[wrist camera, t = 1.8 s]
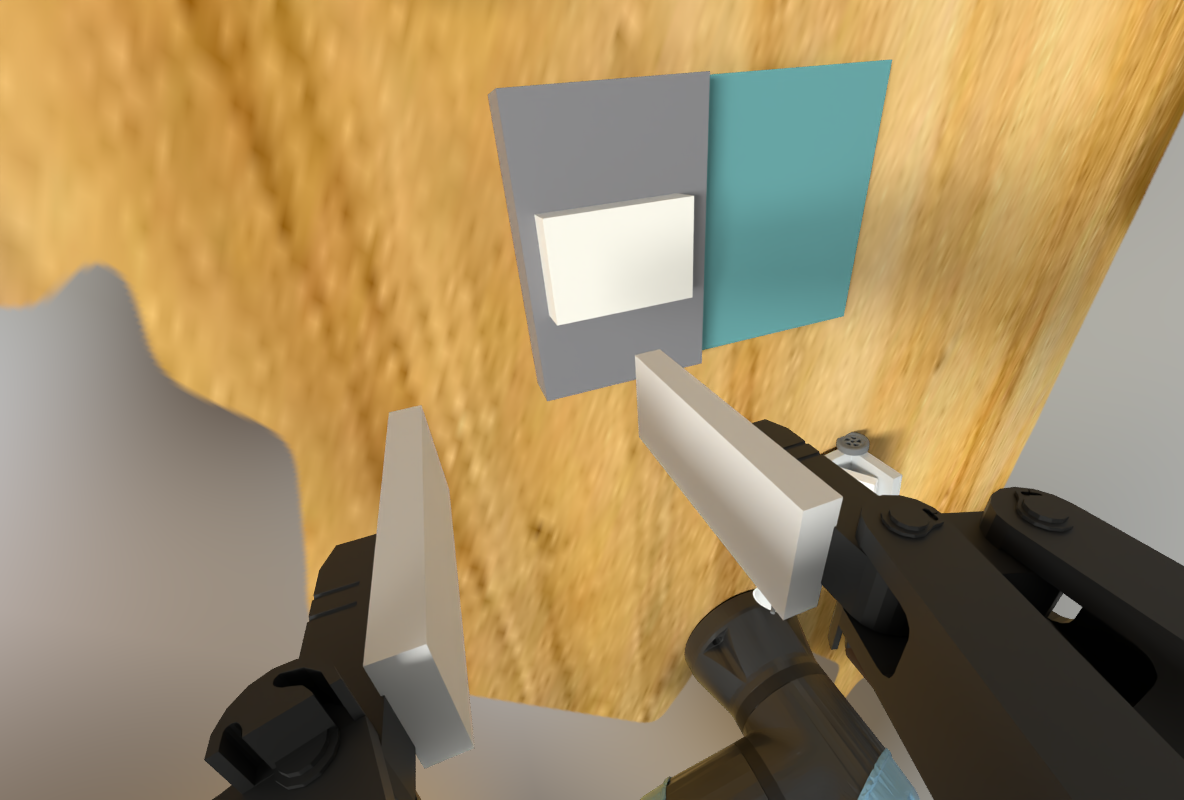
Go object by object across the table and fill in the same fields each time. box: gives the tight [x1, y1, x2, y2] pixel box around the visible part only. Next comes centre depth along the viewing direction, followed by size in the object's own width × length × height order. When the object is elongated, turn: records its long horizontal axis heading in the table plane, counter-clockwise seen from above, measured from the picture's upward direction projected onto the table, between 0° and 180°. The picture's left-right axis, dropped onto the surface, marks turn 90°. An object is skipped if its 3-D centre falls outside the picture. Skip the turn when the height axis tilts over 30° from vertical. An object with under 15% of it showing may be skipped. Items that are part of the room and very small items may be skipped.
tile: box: [534, 193, 694, 326], centre depth 28 cm, size 6×9×2 cm, turn 96°
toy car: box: [753, 432, 902, 614], centre depth 47 cm, size 18×10×12 cm
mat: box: [702, 60, 892, 350], centre depth 34 cm, size 18×14×1 cm
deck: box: [488, 71, 710, 401], centre depth 30 cm, size 18×12×3 cm, turn 6°
